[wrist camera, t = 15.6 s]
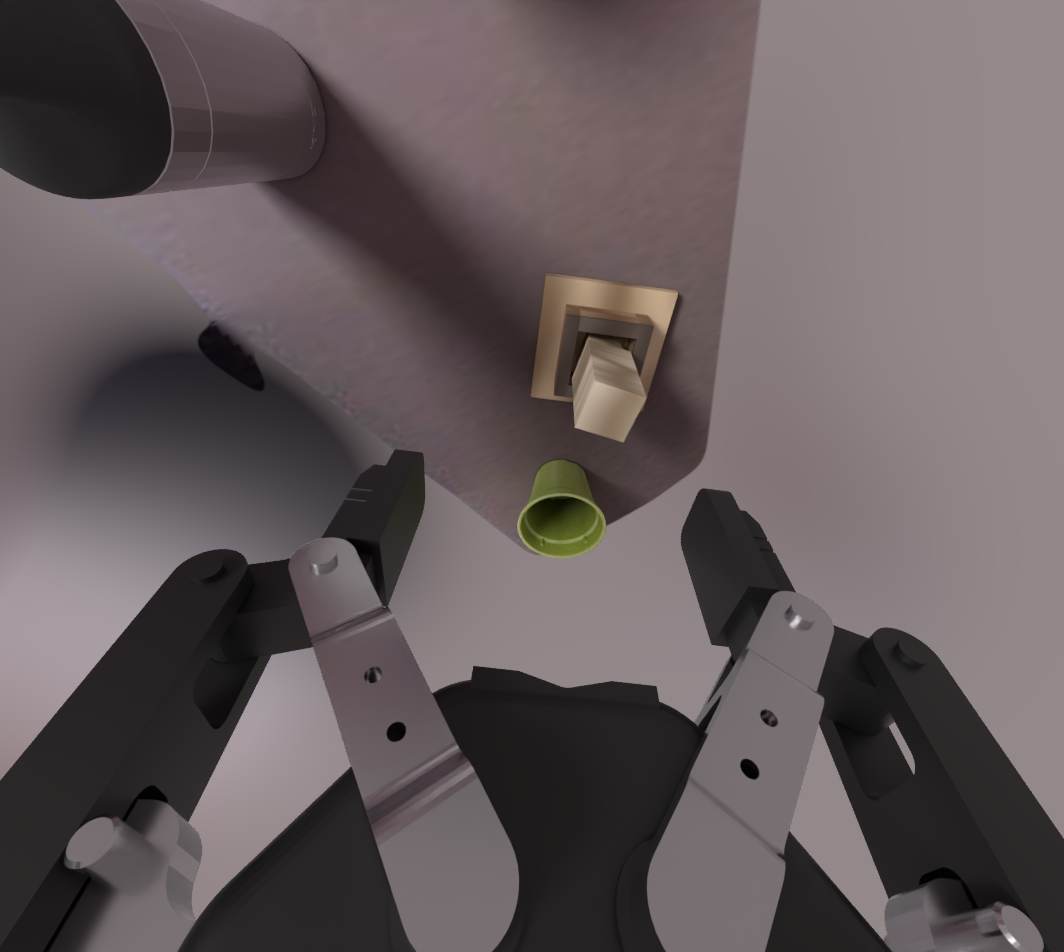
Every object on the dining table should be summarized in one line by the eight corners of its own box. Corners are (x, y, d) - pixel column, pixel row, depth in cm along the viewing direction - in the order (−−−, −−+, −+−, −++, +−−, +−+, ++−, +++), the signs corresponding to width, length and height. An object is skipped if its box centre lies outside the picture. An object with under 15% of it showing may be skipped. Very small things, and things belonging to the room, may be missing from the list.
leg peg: (571, 361, 44) (574, 427, 33) (585, 322, 42) (594, 381, 31) (608, 373, 44) (623, 442, 34) (625, 336, 42) (646, 397, 32)
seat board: (530, 392, 47) (528, 412, 44) (546, 272, 40) (544, 284, 36) (641, 406, 48) (648, 428, 44) (676, 290, 40) (687, 304, 37)
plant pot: (611, 494, 55) (618, 544, 48) (543, 517, 58) (540, 567, 51) (582, 435, 50) (585, 481, 43) (509, 463, 53) (501, 511, 46)
